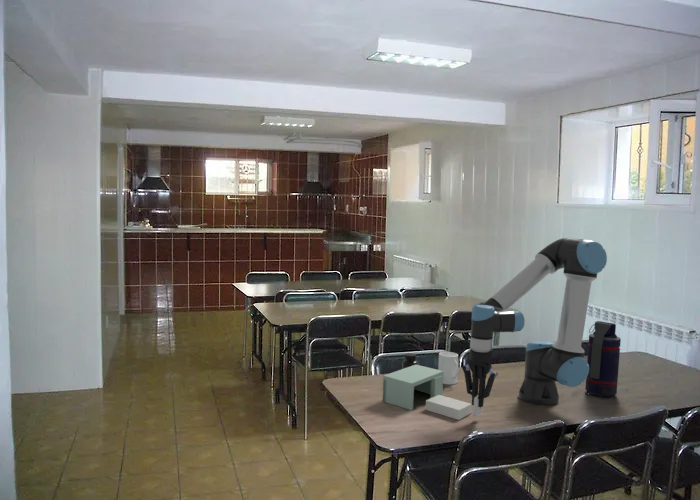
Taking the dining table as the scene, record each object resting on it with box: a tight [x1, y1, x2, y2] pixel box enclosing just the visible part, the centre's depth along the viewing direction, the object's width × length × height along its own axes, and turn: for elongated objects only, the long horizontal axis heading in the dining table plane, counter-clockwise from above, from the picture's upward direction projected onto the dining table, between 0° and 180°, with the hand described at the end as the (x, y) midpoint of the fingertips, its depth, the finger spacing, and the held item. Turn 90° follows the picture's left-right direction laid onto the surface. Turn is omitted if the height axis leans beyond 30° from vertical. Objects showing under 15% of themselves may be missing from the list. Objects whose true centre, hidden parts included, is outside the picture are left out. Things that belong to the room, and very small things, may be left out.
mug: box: [437, 351, 460, 385], centre depth 248 cm, size 12×8×12 cm
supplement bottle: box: [401, 352, 419, 369], centre depth 247 cm, size 7×7×12 cm
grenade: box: [584, 320, 622, 399], centre depth 239 cm, size 14×12×30 cm
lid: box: [425, 394, 473, 421], centre depth 214 cm, size 14×9×4 cm, turn 49°
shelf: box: [381, 364, 444, 411], centre depth 227 cm, size 14×22×10 cm, turn 140°
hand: (476, 415), depth 206 cm, fingers closed
